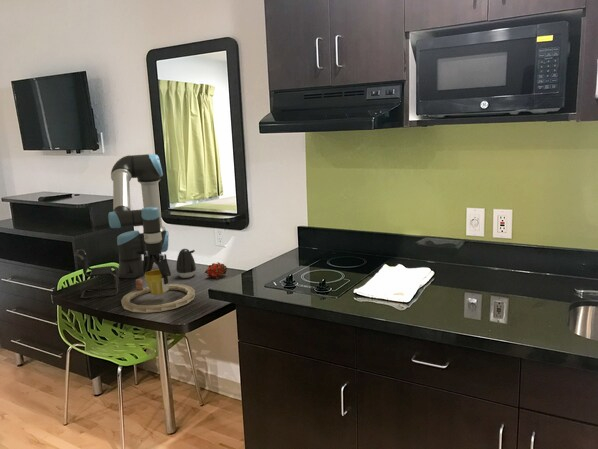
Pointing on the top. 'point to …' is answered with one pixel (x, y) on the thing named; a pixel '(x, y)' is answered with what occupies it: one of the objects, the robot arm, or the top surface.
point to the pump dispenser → (185, 264)
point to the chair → (97, 274)
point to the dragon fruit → (216, 270)
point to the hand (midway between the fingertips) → (158, 288)
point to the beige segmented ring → (156, 308)
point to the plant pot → (154, 281)
